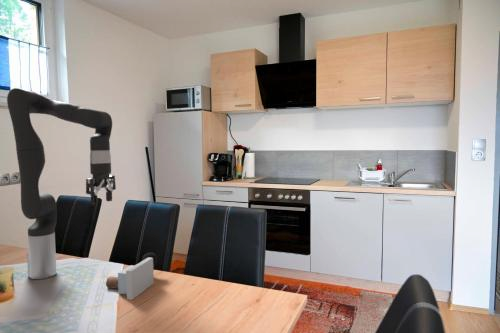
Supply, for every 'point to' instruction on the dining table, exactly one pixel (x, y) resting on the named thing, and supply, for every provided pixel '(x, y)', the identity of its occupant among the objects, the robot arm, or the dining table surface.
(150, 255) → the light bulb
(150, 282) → the base plate
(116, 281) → the dowel
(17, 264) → the dining table surface
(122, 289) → the sleeve block
